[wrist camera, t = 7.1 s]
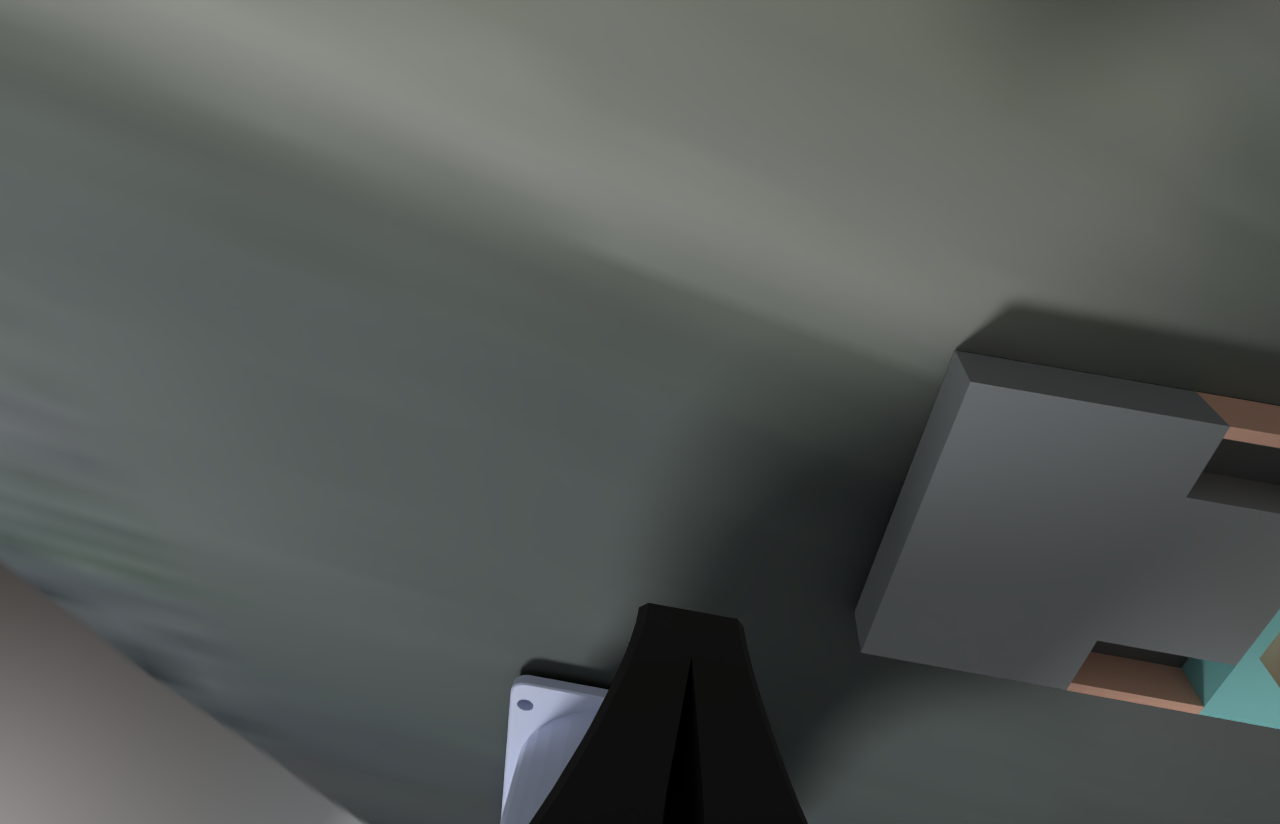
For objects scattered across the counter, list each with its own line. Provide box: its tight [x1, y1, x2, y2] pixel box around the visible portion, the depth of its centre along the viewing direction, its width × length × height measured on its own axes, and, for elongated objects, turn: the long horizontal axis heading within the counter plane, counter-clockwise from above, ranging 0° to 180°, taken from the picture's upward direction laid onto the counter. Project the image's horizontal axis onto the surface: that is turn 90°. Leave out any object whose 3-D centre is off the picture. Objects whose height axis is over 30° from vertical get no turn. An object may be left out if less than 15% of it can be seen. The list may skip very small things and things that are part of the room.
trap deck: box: [854, 350, 1280, 729], centre depth 19 cm, size 14×8×4 cm, turn 82°
